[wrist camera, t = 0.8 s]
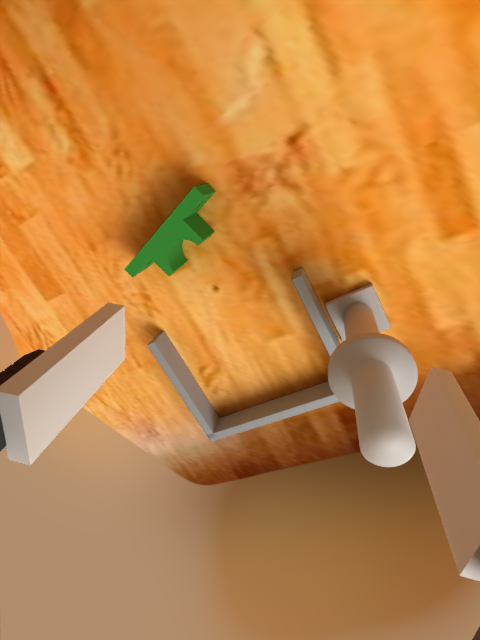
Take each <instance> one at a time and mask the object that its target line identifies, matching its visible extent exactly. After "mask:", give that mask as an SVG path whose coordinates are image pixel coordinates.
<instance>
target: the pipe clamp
mask: <svg viewBox="0 0 480 640" xmlns="http://www.w3.org/2000/svg"><path fill="white" fill-rule="evenodd" d="M214 193H215V190H214V189H213V188H212V187H211V186H210V185H209V184H208V183H206V184H202V185H198V186H194V187H193V189H192V190H191V191H190V192H189V193H188V195H187V196H186V197H185V198H184V199H183V201H182V202H181V203H180V204H179V205H178V206H177V208H176V209H175V210H174V211H173V212H172V214H171V215H170V216H169V217H168V218H167V220H166V221H165V222H164V223H163V224H162V225H161V227H160V228H159V229H158V230H157V231H156V233H155V234H154V235H153V236H152V237H151V238H150V240H149V241H148V242H147V243H146V244H145V246H144V247H143V248H142V249H141V250H140V252H139V253H138V254H137V255H136V256H135V257H134V259H133V260H132V261H131V262H130V263H129V265H128V266H127V267H126V268H125V269H124V270H126V271H127V272H128V273H129V274H130V275H131V276H132V277H134V276H135V275H137V274H138V273H140V272H141V271H143V270H144V269H146V268H148V267H149V266H150V265H151V264H152V263H153V262H155V263H156V264H157V265H158V266H159V267H160V268H161V269H162V270H163V271H164V272H165V273H166V274H167V275H168V276H170V275H172V274H173V273H174V272H175V271H177V270H178V269H179V268H180V267H181V266H183V265H184V264H185V263H186V262H187V261H188V260H187V259H186V257H185V256H184V254H183V251H182V243H183V240H184V239H185V240H190V241H192V242H194V243H196V244H197V245H199V244H201V243H202V242H203V241H205V240H206V239H207V238H209V237H210V236H211V235H212V234H213V233H214V232H215V231H214V230H213V229H212V228H211V227H210V226H209V225H208V224H207V223H206V222H205V221H204V220H203V219H202V218H201V217H200V216H199V215H198V214H197V212H198V211H199V210H200V209H201V207H202V206H203V205H204V204H205V203H206V202H207V201H208V199H209V198H210V197H211V196H212V195H213V194H214Z"/></svg>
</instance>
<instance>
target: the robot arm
mask: <svg viewBox="0 0 480 640" xmlns="http://www.w3.org/2000/svg"><path fill="white" fill-rule="evenodd" d="M124 359H125V306H122V305H117V304H112V303H107V304H106V305H105V306H103V307H102V308H101V309H99V310H98V311H97V312H96V313H94V314H93V315H92V316H90V317H89V318H88V319H86V320H85V321H84V322H83V323H81V324H80V325H79V326H77V327H76V328H75V329H73V330H72V331H71V332H70V333H68V334H67V335H66V336H64V337H63V338H62V339H60V340H59V341H58V342H57V343H55V344H54V345H53V346H51V347H50V348H49V349H47V350H46V351H44V350H36V351H34V352H31V353H29V354H26V355H24V356H23V357H21V358H20V359H19V360H17V361H16V362H14V364H13V365H10V366H9V367H8V368H7V369H5V371H2V372H1V373H0V451H1V450H2V449H3V448H4V447H5V446H6V449H7V454H8V459H9V460H12V461H17V462H20V463H24V464H28V465H31V464H32V463H33V462H34V460H35V459H36V458H37V457H38V456H39V455H40V454H41V452H42V451H43V450H44V449H45V448H46V447H47V446H48V445H49V444H50V443H51V441H52V440H53V439H54V438H55V437H56V436H57V435H58V434H59V432H60V431H61V430H62V429H63V428H64V427H65V426H66V424H67V423H68V422H69V421H70V420H71V419H72V418H73V417H74V416H75V414H76V413H77V412H78V411H79V410H80V409H81V408H82V407H83V405H84V404H85V403H86V402H87V401H88V400H89V399H90V398H91V396H92V395H93V394H94V393H95V392H96V391H97V390H98V389H99V387H100V386H101V385H102V384H103V383H104V382H105V381H106V380H107V378H108V377H109V376H110V375H111V374H112V373H113V372H114V371H115V369H116V368H117V367H118V366H119V365H120V364H121V363H122V362H123V360H124ZM409 421H410V425H411V428H412V431H413V434H414V437H415V440H416V443H417V446H418V449H419V452H420V455H421V458H422V461H423V464H424V468H425V471H426V474H427V477H428V480H429V483H430V486H431V489H432V492H433V496H434V498H435V502H436V505H437V508H438V511H439V514H440V517H441V520H442V523H443V526H444V529H445V533H446V536H447V539H448V542H449V545H450V548H451V551H452V554H453V557H454V560H455V563H456V566H457V570H458V573H459V575H460V576H463V577H467V578H470V579H474V580H478V581H480V421H479V419H478V418H477V416H476V414H475V412H474V411H473V409H472V407H471V405H470V404H469V402H468V400H467V398H466V397H465V395H464V393H463V391H462V390H461V388H460V386H459V385H458V383H457V381H456V379H455V378H454V376H453V374H452V372H451V371H447V370H442V369H437V368H432V367H431V369H430V371H429V373H428V376H427V378H426V381H425V383H424V385H423V388H422V390H421V392H420V395H419V397H418V400H417V402H416V404H415V407H414V409H413V411H412V414H411V416H410V419H409ZM472 640H480V627H479V629H478V630H477V632H476V634H475V636H474V637H473V639H472Z"/></svg>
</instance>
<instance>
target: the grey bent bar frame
mask: <svg viewBox="0 0 480 640" xmlns="http://www.w3.org/2000/svg"><path fill="white" fill-rule="evenodd" d="M292 282H293V284H294V286H295V288H296V290H297V292H298V294H299V296H300V298H301V300H302V301H303V303H304V305H305V307H306V309H307V311H308V313H309V315H310V317H311V319H312V321H313V323H314V325H315V327H316V329H317V331H318V333H319V335H320V337H321V339H322V341H323V343H324V345H325V347H326V349H327V351H328V353H329V355H330V359H329V363H328V382H325V383H322V384H319V385H316V386H313V387H310V388H307V389H304V390H301V391H298V392H295V393H292V394H289V395H286V396H283V397H280V398H277V399H274V400H271V401H268V402H265V403H262V404H259V405H256V406H253V407H250V408H247V409H244V410H241V411H238V412H236V413H233V414H230V415H227V416H224V417H221V418H219V416H218V415H217V413H216V412H215V410H214V408H213V407H212V405H211V404H210V402H209V401H208V399H207V397H206V396H205V394H204V393H203V391H202V390H201V388H200V386H199V385H198V383H197V382H196V380H195V379H194V377H193V375H192V374H191V372H190V371H189V369H188V368H187V366H186V364H185V363H184V361H183V360H182V358H181V356H180V355H179V353H178V352H177V350H176V349H175V347H174V345H173V344H172V342H171V341H170V339H169V338H168V336H167V334H166V333H165V331H163V332H161V333H158V334H157V335H156V336H155V337H154V338H153V340H152V341H151V342H150V343H149V344H148V345H147V346H148V347H149V349H150V350H151V352H152V353H153V355H154V356H155V358H156V359H157V361H158V362H159V364H160V365H161V367H162V368H163V370H164V371H165V373H166V374H167V376H168V377H169V379H170V381H171V382H172V384H173V385H174V387H175V388H176V390H177V391H178V393H179V394H180V396H181V397H182V399H183V400H184V402H185V403H186V405H187V406H188V408H189V409H190V411H191V412H192V414H193V415H194V417H195V419H196V420H197V422H198V423H199V425H200V426H201V428H202V429H203V431H204V432H205V434H206V435H207V437H208V438H209V440H210V441H215V440H218V439H221V438H224V437H227V436H231V435H234V434H237V433H240V432H243V431H247V430H250V429H253V428H256V427H259V426H263V425H266V424H269V423H272V422H275V421H278V420H282V419H285V418H288V417H291V416H294V415H298V414H301V413H304V412H307V411H310V410H314V409H317V408H320V407H323V406H326V405H330V404H333V403H336V402H339V401H341V402H342V403H343V404H345V405H347V406H348V407H350V408H353V409H355V413H356V421H357V428H358V436H359V444H360V450H361V453H362V454H363V456H364V457H365V458H366V459H367V460H368V461H370V462H371V463H373V464H375V465H378V466H383V467H394V466H398V465H401V464H404V463H405V462H407V461H408V460H409V459H411V457H412V456H413V454H414V452H415V446H416V445H415V441H414V438H413V435H412V432H411V429H410V426H409V422H408V419H407V416H406V413H405V410H404V407H403V404H402V403H403V402H404V401H405V400H406V399H407V398H408V397H409V396H410V395H411V394H412V392H413V391H414V389H415V387H416V384H417V379H418V371H417V367H416V364H415V361H414V359H413V357H412V355H411V353H410V351H409V350H408V348H407V347H406V346H405V345H404V344H403V343H401V342H400V341H399V340H397V339H395V338H393V337H391V336H388V335H385V334H380V333H379V332H382V331H384V330H387V329H390V328H391V326H390V323H389V321H388V319H387V317H386V314H385V312H384V310H383V307H382V305H381V303H380V301H379V298H378V296H377V294H376V292H375V289H374V287H373V285H372V283H371V284H369V285H366V286H364V287H362V288H359V289H357V290H354V291H352V292H350V293H347V294H345V295H342V296H340V297H337V298H335V299H333V300H330V301H328V302H325V306H326V308H327V310H328V312H329V314H330V316H331V318H332V320H333V322H334V324H335V326H336V328H337V330H338V332H339V334H340V336H341V339H342V341H343V342H342V343H341V344H340V342H339V340H338V338H337V336H336V334H335V332H334V330H333V328H332V326H331V324H330V322H329V320H328V318H327V316H326V314H325V312H324V310H323V308H322V306H321V304H320V302H319V300H318V298H317V296H316V294H315V291H314V289H313V287H312V285H311V283H310V281H309V279H308V277H307V275H306V273H305V271H304V269H303V267H302V268H300V269H297V270H295V271H294V272H293V276H292Z"/></svg>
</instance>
